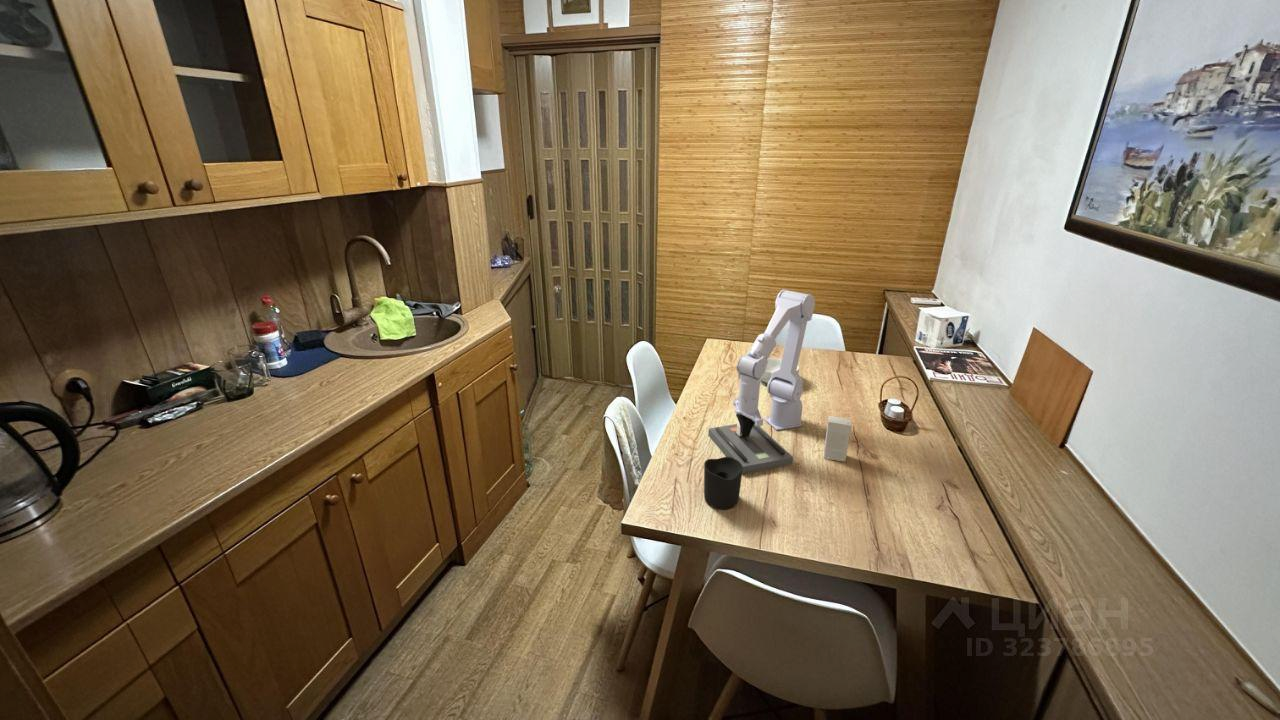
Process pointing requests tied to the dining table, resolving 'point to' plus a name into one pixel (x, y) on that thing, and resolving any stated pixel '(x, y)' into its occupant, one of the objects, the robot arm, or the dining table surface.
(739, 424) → the breaker toggle
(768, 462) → the breaker panel
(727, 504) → the pen holder
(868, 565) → the dining table surface
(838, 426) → the skincare box
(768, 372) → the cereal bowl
